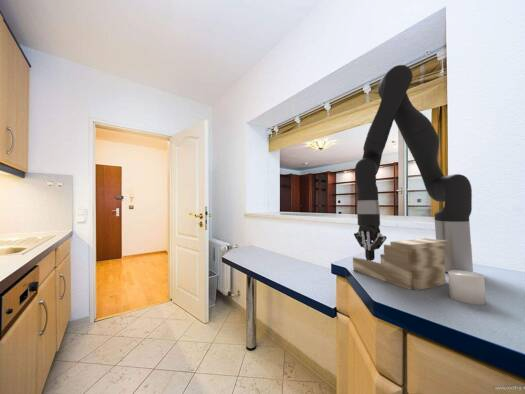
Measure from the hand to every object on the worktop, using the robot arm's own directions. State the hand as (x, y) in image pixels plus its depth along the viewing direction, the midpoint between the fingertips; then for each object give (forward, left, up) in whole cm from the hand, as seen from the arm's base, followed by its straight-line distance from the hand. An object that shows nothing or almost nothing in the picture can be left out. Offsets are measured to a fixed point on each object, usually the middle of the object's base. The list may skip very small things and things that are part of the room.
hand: (370, 260), depth 80 cm
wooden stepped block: (-1, +10, -3) cm, 10 cm away
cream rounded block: (+1, +29, -3) cm, 29 cm away
